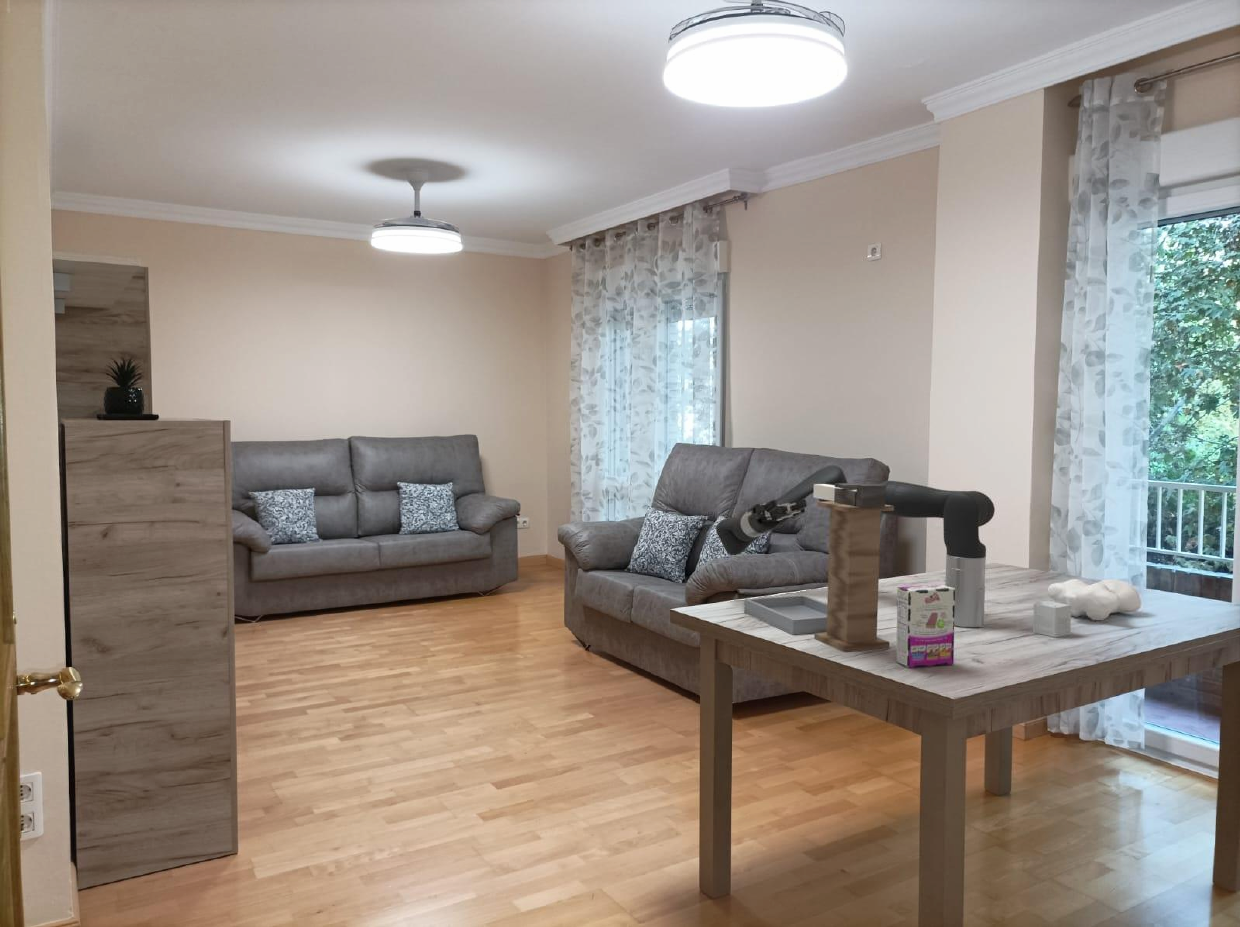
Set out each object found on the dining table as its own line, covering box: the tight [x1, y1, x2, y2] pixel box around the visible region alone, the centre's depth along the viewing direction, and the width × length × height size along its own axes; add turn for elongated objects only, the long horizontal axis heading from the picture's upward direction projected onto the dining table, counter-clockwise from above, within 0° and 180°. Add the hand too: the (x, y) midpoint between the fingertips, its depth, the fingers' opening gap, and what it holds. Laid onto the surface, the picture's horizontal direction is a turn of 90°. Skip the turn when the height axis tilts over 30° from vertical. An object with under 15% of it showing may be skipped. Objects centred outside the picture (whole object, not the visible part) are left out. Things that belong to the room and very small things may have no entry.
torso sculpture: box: [1047, 578, 1142, 621], centre depth 239 cm, size 18×10×25 cm
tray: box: [743, 594, 827, 636], centre depth 231 cm, size 24×18×4 cm
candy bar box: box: [895, 584, 955, 669], centre depth 194 cm, size 11×5×16 cm, turn 105°
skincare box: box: [1032, 600, 1072, 638], centre depth 221 cm, size 6×6×7 cm
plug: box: [812, 484, 857, 501], centre depth 213 cm, size 19×3×3 cm, turn 21°
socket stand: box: [813, 482, 894, 653], centre depth 209 cm, size 13×12×37 cm
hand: (790, 502), depth 232 cm, fingers open, 8 cm apart
